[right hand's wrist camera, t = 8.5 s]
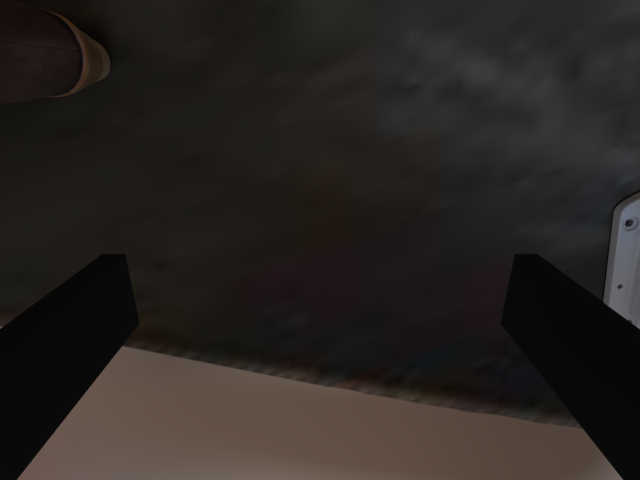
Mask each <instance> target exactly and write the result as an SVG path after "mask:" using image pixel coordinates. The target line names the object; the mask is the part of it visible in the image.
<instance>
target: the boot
mask: <svg viewBox="0 0 640 480" xmlns="http://www.w3.org/2000/svg"><path fill="white" fill-rule="evenodd" d="M110 65H111V64H110V58H109V56H108V53H107V52H106V50H105V49H104V48H103V47H102V46H101V45H100V44H99V43H97V42H96V41H94V40H93V39H91V38H90V37H89V36H88V35H87V34H86V33H84V32H82V31H81V30H79V29H78V28H77V27H76V26H75V25H74V24H73V23H71V22H70V21H69V20H68V19H66V18H65V17H63V16H61V15H59V14H57V13H55V12H52V11H49V10H45V9H41V8H35V7H32V6H30V5H27V4H24V3H21V2H17V1H14V0H0V104H2V103H17V102H25V101H30V100H35V99H39V98H44V97H62V96H68V95H70V94H73V93H75V92H77V91H79V90H81V89H83V88H85V87H87V86H89V85H91V84H93V83H94V82H97V81H99V80H102V79H104V78H105V77H106V76H107V75H108V74H109V72H110Z"/></svg>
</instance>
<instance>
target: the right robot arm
mask: <svg viewBox="0 0 640 480" xmlns="http://www.w3.org/2000/svg"><path fill="white" fill-rule="evenodd" d="M138 325H139V319H138V314H137V310H136V305H135V300H134V295H133V290H132V286H131V281H130V276H129V271H128V266H127V262H126V257H125V254H102V255H101V256H99V257H98V258H96V259H95V260H94V261H92V262H91V263H90V264H88V265H87V266H86V267H84V268H83V269H81V270H80V271H79V272H77V273H76V274H75V275H73V276H72V277H71V278H69V279H68V280H66V281H65V282H64V283H62V284H61V285H60V286H58V287H57V288H56V289H54V290H53V291H51V292H50V293H49V294H47V295H46V296H45V297H43V298H42V299H41V300H39V301H38V302H36V303H35V304H34V305H32V306H31V307H30V308H28V309H27V310H26V311H24V312H23V313H21V314H20V315H19V316H17V317H16V318H15V319H13V320H12V321H11V322H9V323H8V324H6V325H5V326H4V327H2V328H1V329H0V480H17V479H18V477H19V476H20V475H21V474H22V472H23V471H24V470H25V469H26V467H27V466H28V465H29V463H30V462H31V461H32V460H33V458H34V457H35V456H36V455H37V453H38V452H39V451H40V450H41V448H42V447H43V446H44V444H45V443H46V442H47V441H48V439H49V438H50V437H51V435H52V434H53V433H54V432H55V430H56V429H57V428H58V427H59V425H60V424H61V423H62V422H63V420H64V419H65V418H66V416H67V415H68V414H69V413H70V411H71V410H72V409H73V408H74V406H75V405H76V404H77V402H78V401H79V400H80V399H81V397H82V396H83V395H84V394H85V392H86V391H87V390H88V389H89V387H90V386H91V385H92V383H93V382H94V381H95V380H96V378H97V377H98V376H99V375H100V373H101V372H102V371H103V370H104V368H105V367H106V366H107V364H108V363H109V362H110V361H111V359H112V358H113V357H114V356H115V354H116V353H117V352H118V350H119V349H120V348H121V347H122V345H123V344H124V343H125V342H126V340H127V339H128V338H129V337H130V335H131V334H132V333H133V331H134V330H135V329H136V328H137V326H138ZM501 325H502V326H503V328H504V329H505V330H506V331H507V333H508V334H509V335H510V337H511V338H512V339H513V340H514V342H515V343H516V344H517V345H518V347H519V348H520V349H521V350H522V352H523V353H524V354H525V356H526V357H527V358H528V359H529V361H530V362H531V363H532V364H533V366H534V367H535V368H536V370H537V371H538V372H539V373H540V375H541V376H542V377H543V378H544V380H545V381H546V382H547V383H548V385H549V386H550V387H551V389H552V390H553V391H554V392H555V394H556V395H557V396H558V397H559V399H560V400H561V401H562V403H563V404H564V405H565V406H566V408H567V409H568V410H569V411H570V413H571V414H572V415H573V417H574V418H575V419H576V420H577V422H578V423H579V424H580V425H581V427H582V428H583V429H584V430H585V432H586V433H587V434H588V436H589V437H590V438H591V439H592V441H593V442H594V443H595V444H596V446H597V447H598V448H599V449H600V451H601V452H602V453H603V455H604V456H605V457H606V458H607V460H608V461H609V462H610V463H611V465H612V466H613V467H614V469H615V470H616V471H617V472H618V474H619V475H620V476H621V477H622V479H623V480H640V329H639V328H638V327H636V326H635V325H634V324H632V323H631V322H629V321H628V320H627V319H625V318H624V317H623V316H621V315H620V314H619V313H617V312H616V311H614V310H613V309H612V308H610V307H609V306H608V305H606V304H605V303H604V302H602V301H601V300H599V299H598V298H597V297H595V296H594V295H593V294H591V293H590V292H589V291H587V290H586V289H584V288H583V287H582V286H580V285H579V284H578V283H576V282H575V281H574V280H572V279H571V278H569V277H568V276H567V275H565V274H564V273H563V272H561V271H560V270H559V269H557V268H556V267H554V266H553V265H552V264H550V263H549V262H548V261H546V260H545V259H544V258H542V257H541V256H539V255H538V254H515V257H514V262H513V266H512V271H511V276H510V281H509V286H508V290H507V295H506V300H505V305H504V310H503V314H502V319H501Z"/></svg>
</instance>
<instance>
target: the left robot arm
mask: <svg viewBox="0 0 640 480" xmlns="http://www.w3.org/2000/svg"><path fill="white" fill-rule="evenodd" d="M627 220H628V222H627V223H626V221H627ZM625 223H626V224H625ZM603 302H604V303H605V304H606V305H608V306H609V307H610V308H612V309H613V310H614V311H616V312H617V313H619V314H620V315H621V316H623V317H624V318H625V319H627V320H628V321H629V322H631V323H632V324H634V325H635V326H636V327H638V328H639V329H640V192H639V193H637V194H635V195H633V196H631V197H629V198H627V199H625V200H624V201H622V202H621V203H620V204H618V205H617V207H616V208H615V210H614V213H613V221H612V230H611V239H610V248H609V256H608V265H607V274H606V283H605V291H604V300H603Z"/></svg>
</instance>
